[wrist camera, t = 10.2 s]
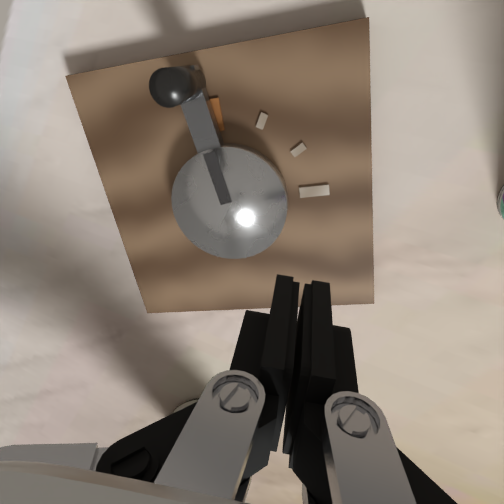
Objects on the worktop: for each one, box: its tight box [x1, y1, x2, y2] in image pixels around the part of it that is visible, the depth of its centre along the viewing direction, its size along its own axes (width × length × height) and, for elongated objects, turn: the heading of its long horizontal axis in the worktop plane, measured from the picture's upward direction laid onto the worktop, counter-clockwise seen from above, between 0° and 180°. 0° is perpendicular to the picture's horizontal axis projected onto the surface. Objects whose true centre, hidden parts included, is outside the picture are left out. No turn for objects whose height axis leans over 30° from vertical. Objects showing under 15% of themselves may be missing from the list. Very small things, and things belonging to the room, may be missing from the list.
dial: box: [149, 65, 288, 259], centre depth 30 cm, size 16×10×6 cm, turn 17°
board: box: [66, 17, 374, 313], centre depth 34 cm, size 24×24×2 cm
